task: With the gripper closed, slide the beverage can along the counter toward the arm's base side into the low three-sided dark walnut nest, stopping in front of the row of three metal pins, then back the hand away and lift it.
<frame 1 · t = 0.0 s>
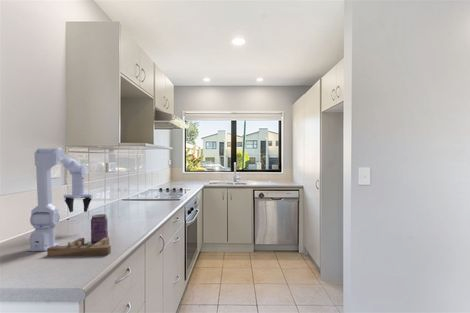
hand: (78, 211, 156), 10 cm above the worktop, tool pointing down, fingers open, 7 cm apart
pin nest: (89, 247, 126), on the worktop
beverage can: (99, 241, 136), on the worktop
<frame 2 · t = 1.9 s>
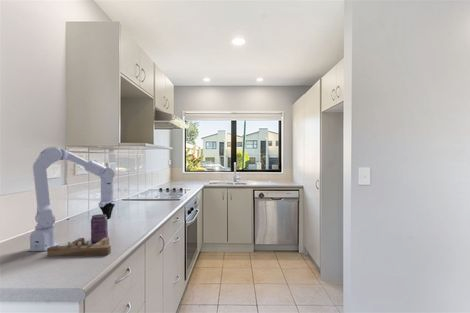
hand: (107, 218, 145), 8 cm above the worktop, tool pointing down, fingers closed
nothing on the worktop moved.
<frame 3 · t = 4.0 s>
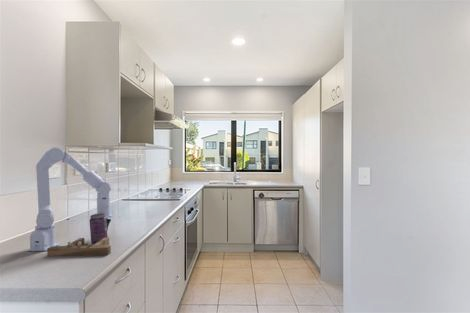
hand: (104, 234, 141), 2 cm above the worktop, tool pointing down, fingers closed, pressing on beverage can
beverage can: (99, 240, 136), on the worktop, touching gripper
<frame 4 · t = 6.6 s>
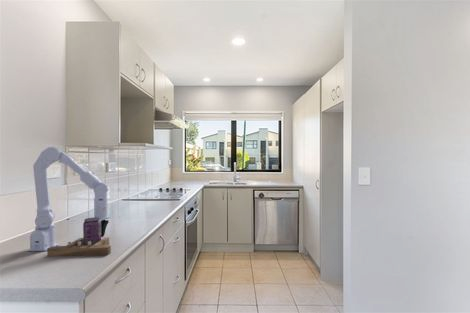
hand: (101, 236, 138), 2 cm above the worktop, tool pointing down, fingers closed
beverage can: (92, 246, 129), resting in pin nest
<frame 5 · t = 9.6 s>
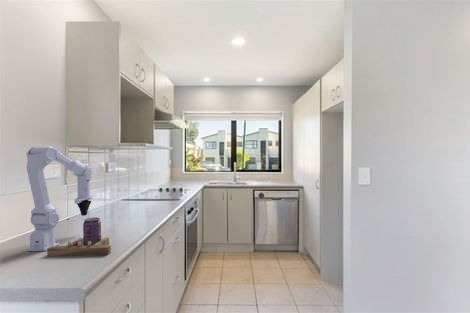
hand: (84, 215, 150), 9 cm above the worktop, tool pointing down, fingers closed
nothing on the worktop moved.
at the end: beverage can 3.2 cm off-centre on the pin nest, point 0.0 cm above the pin nest's base; beverage can tilted 0° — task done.
